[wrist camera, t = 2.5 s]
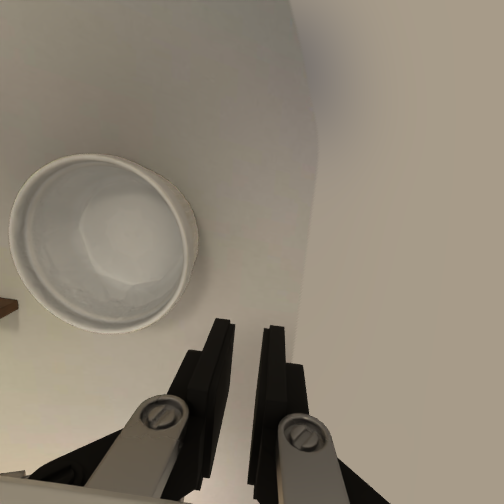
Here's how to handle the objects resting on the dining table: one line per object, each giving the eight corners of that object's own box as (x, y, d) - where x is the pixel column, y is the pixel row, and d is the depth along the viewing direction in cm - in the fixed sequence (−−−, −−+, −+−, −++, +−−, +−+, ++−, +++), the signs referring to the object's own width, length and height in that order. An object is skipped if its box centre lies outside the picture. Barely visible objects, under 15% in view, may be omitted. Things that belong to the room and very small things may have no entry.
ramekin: (131, 121, 26) (81, 106, 20) (241, 235, 28) (229, 257, 21) (41, 227, 30) (-28, 245, 23) (145, 324, 31) (109, 367, 25)
